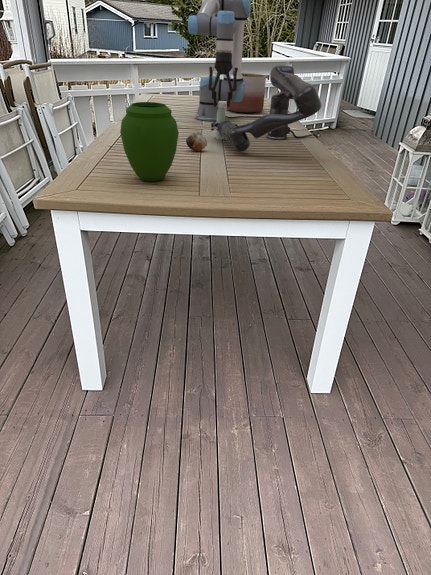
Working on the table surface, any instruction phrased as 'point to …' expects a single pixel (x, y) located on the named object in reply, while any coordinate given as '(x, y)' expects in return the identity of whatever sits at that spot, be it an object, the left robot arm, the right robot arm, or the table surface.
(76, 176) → the table surface
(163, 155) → the vase
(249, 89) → the planter
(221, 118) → the bottle
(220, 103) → the cap
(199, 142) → the seashell
